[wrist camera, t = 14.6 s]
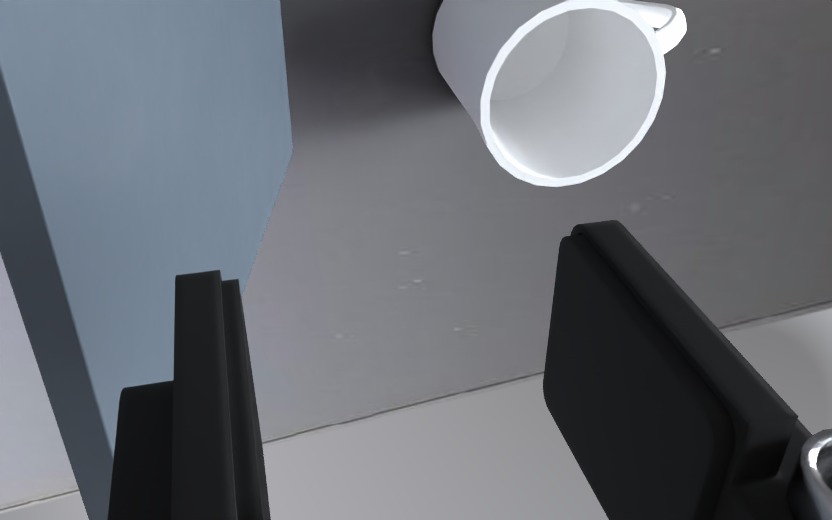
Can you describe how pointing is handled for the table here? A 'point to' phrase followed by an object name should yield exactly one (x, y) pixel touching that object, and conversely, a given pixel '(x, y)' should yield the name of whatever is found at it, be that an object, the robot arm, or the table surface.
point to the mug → (557, 78)
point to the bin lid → (130, 186)
